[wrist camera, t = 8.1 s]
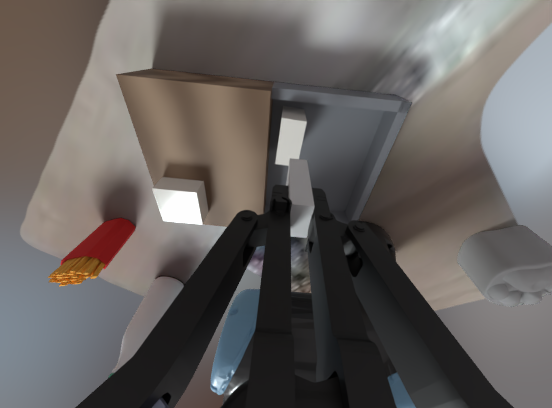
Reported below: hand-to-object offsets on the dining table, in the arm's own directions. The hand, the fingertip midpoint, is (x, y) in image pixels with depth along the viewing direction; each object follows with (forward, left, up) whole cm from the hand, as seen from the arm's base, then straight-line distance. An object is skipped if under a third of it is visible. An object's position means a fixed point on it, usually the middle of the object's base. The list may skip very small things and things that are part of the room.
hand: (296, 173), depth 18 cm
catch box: (-4, +4, -11) cm, 12 cm away
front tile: (+2, -1, -7) cm, 8 cm away
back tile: (+13, +8, -5) cm, 16 cm away
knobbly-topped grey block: (-40, +19, -11) cm, 45 cm away
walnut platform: (+10, +4, -11) cm, 15 cm away
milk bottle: (+26, +42, -11) cm, 50 cm away
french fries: (+31, +22, -11) cm, 39 cm away
